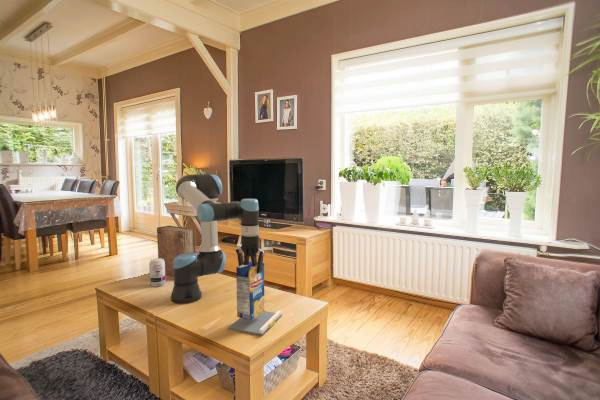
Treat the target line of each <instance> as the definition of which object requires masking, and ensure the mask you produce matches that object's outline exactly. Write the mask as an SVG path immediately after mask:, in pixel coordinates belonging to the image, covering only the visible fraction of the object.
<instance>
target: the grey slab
mask: <svg viewBox="0 0 600 400" xmlns="http://www.w3.org/2000/svg"><path fill="white" fill-rule="evenodd" d="M282 315H283V314H282V310H279V309H278V310H277V311H276V312H272V311H264V312H262V313H261V314H259V315H258V316H256V317H254V318H253V319H251V320H247V319H243V318H239V317H238V318H237V320H236V321H234V322H233V323H232V324H230V325H229V326H228V327H227V330H228V331H233V332H239V333H243V334H248V335H253V336H259V337H263V336H264V335H265V334H266V333H267V332H268V331H269V330H270V329H271V328H272V327H273V326H274V325H275V323H277V322H278V321H279V319H280V318H282Z"/></svg>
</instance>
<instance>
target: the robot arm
mask: <svg viewBox="0 0 600 400" xmlns="http://www.w3.org/2000/svg"><path fill="white" fill-rule="evenodd" d="M175 192H176V194H177V196H178V197H180V199H183V200H185V201H187V202H188V203H189V204H190V205H191V206H192V207H193V208H194V209H196V216H197V218H198V221H199V222H200V236H201V237H200V238H201V248H199V251H198V253H199V254H197V252H196V253H195V252H190V253H189V252H188V253H183V254H180V255H178V256H176V257H175V258H174V264H173V268H174V277H173V288H172V291H171V295H170V301H171V303H173V304H177V305H183V304H184V305H185V304H191V303H195V302H198V301H199V300H201V299H202V291H201V288H200V286H199V281H198V278H199V277H204V276H208V275H209V276H210V275H216V274H220V273H222V272H223V271H224V270H225V267H226V264H227V258H226V253H225V252H224V251H223V250H222V248H221V247H220V246H219V236H218V221H227V220H240V231H241V232H240V233H241V236H240V243H241V246H240V247H238V248H236V249H235V253H236V254H237V261H238V263H237V264H238V266H241V265H243V264H244V265H248V264H249V262H250V259H251V261H252V266H256V265H257V262H258V265H257V274H259V273H260V272H262V264H263V263H264V256H265V253H266V251H265V250H264V249H261V248H260V245H259V243H260V235H259V234H260V231H259V230H260V229H259V228H260V227H259V223H260V221H259V218H260V217H259V216H260V215H259V214H260V207H259V201H258V199H257V198H243V199H241V200H240V201H239V200H235V201H231V202H230V201H229V202H217V201H218V200H219V199H220V196H221V195H222V193H223V184H222V180H221V178H220V177H219V176H218V175H216V174H210V173H208V174H207V173H206V174H205V173H203V174H187V175H183V176H182V177H180V178H179V179H178V180H177V182H176V184H175Z"/></svg>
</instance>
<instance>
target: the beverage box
mask: <svg viewBox="0 0 600 400" xmlns="http://www.w3.org/2000/svg"><path fill="white" fill-rule="evenodd" d="M257 265H258V261H257ZM257 265H256V266H252V260H251V261H250V260H249V264H248V265H244V264H243V265H241V266H239V265H238V266H236V314H237V315H236V317H237V318H238V319H239V318H243V319H247V320H251V319H253V318H254V317H256V316H258V315H259V314H261V313H262V312H264V311H265V309H266V308H265V262H263V264H262V272H260V273H259V274H257Z"/></svg>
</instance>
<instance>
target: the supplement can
mask: <svg viewBox="0 0 600 400" xmlns="http://www.w3.org/2000/svg"><path fill="white" fill-rule="evenodd" d="M148 267H149V285H150V286H151V287H153V288H160V287H164V286H165V284H166V275H165V261H164V259H162V258H158V257H157V258H153V259H152V258H151V259H150V261H149V266H148Z"/></svg>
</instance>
